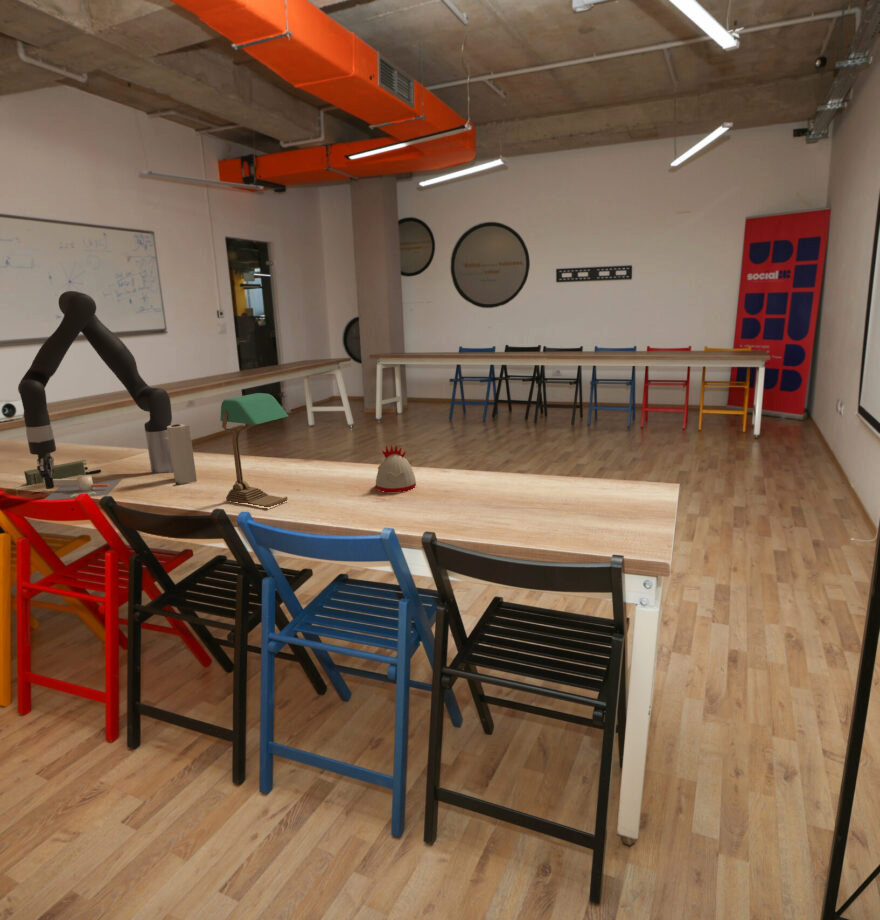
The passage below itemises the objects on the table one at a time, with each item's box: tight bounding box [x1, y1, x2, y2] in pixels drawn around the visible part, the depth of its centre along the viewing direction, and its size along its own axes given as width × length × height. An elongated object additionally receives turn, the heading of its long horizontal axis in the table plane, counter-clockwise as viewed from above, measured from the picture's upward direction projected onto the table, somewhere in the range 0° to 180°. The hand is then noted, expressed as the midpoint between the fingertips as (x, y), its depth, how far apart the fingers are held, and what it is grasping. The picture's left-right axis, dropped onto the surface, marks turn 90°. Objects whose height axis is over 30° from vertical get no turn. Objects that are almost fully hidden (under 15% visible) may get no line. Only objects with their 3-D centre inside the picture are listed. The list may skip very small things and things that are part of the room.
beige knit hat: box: [375, 444, 417, 493], centre depth 213 cm, size 14×14×15 cm
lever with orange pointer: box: [43, 475, 109, 491], centre depth 218 cm, size 22×4×4 cm, turn 88°
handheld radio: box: [23, 459, 102, 486], centre depth 235 cm, size 7×3×25 cm
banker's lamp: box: [220, 392, 289, 507], centre depth 198 cm, size 16×21×35 cm
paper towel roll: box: [167, 423, 198, 485], centre depth 225 cm, size 7×6×21 cm
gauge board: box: [43, 478, 123, 501], centre depth 219 cm, size 20×20×2 cm
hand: (50, 488), depth 211 cm, fingers closed
